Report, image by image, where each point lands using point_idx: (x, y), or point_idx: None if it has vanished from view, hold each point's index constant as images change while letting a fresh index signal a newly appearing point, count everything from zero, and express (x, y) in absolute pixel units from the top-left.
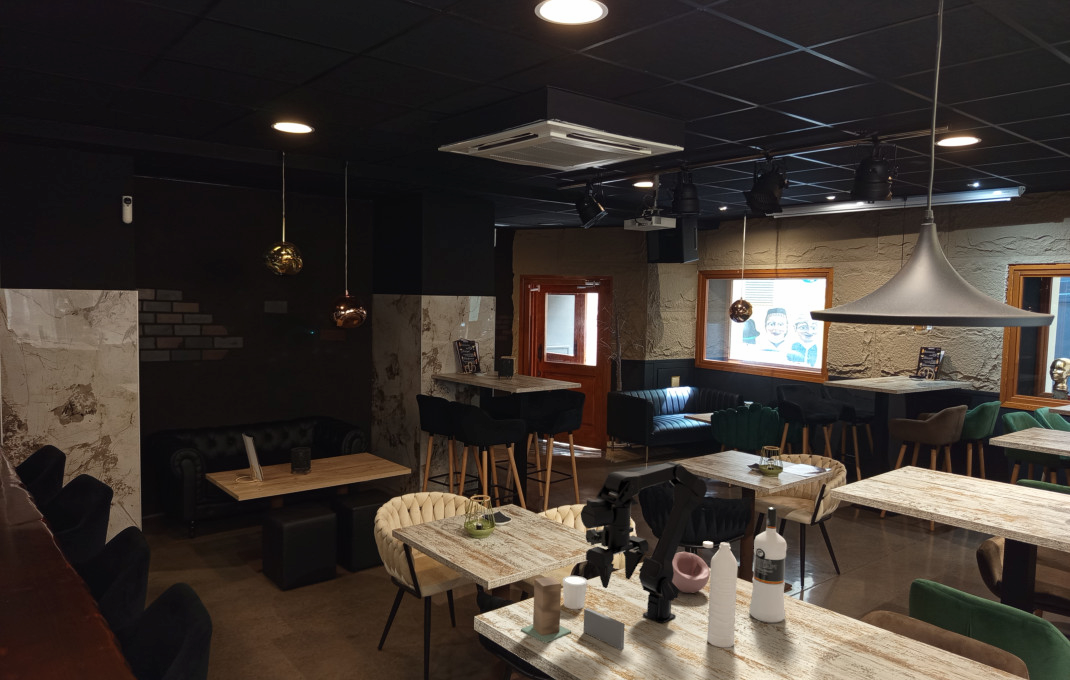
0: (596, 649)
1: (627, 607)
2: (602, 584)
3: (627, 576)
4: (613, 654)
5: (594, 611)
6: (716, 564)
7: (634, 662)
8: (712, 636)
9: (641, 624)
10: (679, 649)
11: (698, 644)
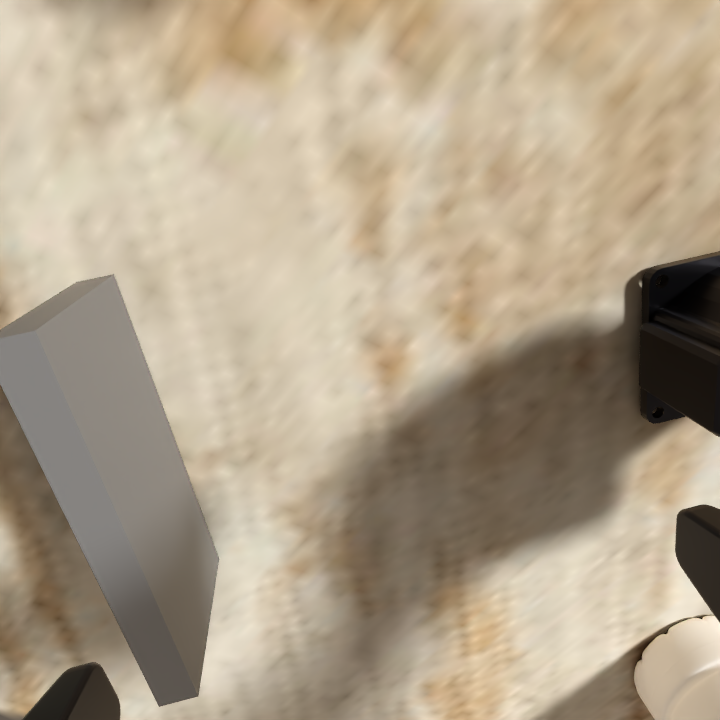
0: (44, 514)
1: (681, 79)
2: (34, 714)
3: (705, 562)
4: None
5: (67, 436)
6: None
7: None
8: (659, 710)
9: (536, 365)
10: (476, 653)
11: (591, 645)
